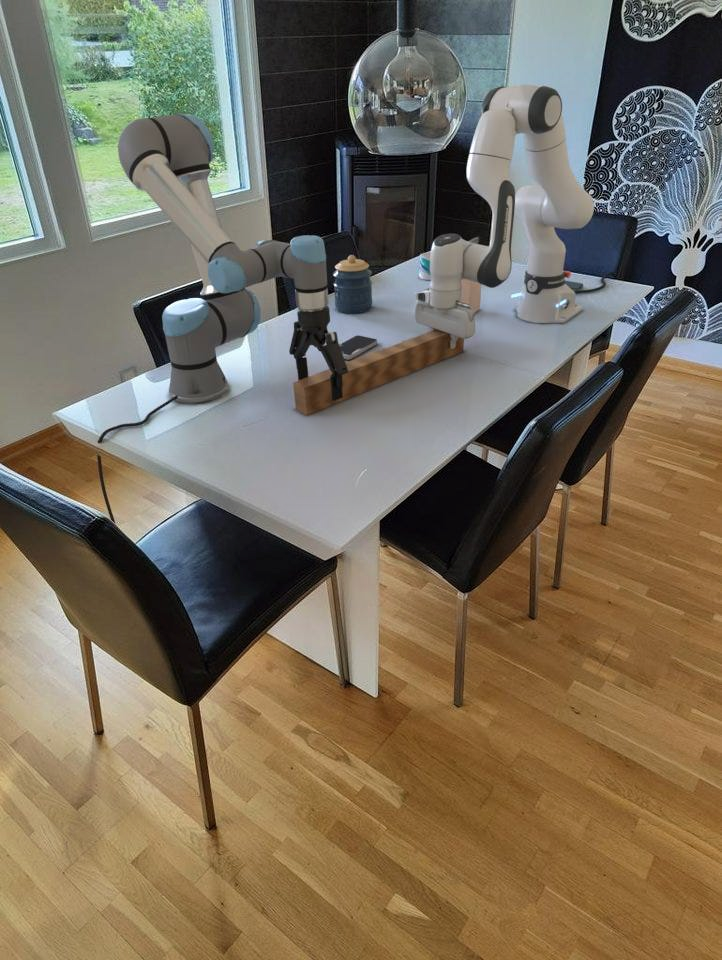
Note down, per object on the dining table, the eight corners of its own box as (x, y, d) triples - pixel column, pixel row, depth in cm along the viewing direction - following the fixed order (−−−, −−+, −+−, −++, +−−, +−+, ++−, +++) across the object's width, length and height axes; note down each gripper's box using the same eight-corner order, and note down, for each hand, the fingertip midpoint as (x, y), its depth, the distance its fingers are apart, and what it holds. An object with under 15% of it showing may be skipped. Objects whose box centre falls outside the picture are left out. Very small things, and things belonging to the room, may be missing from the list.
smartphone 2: (577, 289, 235) (536, 281, 242) (576, 293, 236) (535, 286, 243) (584, 283, 240) (544, 276, 247) (583, 287, 241) (543, 280, 248)
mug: (415, 278, 257) (415, 256, 252) (430, 270, 265) (430, 248, 261) (434, 281, 253) (435, 258, 248) (448, 272, 261) (449, 250, 257)
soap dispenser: (469, 317, 218) (472, 247, 206) (445, 313, 222) (447, 244, 210) (485, 305, 227) (489, 238, 215) (462, 302, 231) (465, 236, 219)
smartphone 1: (378, 339, 201) (349, 356, 191) (378, 343, 202) (349, 360, 191) (357, 335, 205) (327, 351, 195) (357, 339, 206) (328, 355, 195)
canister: (340, 315, 224) (337, 262, 214) (330, 304, 234) (327, 252, 224) (377, 311, 226) (376, 257, 217) (366, 299, 237) (364, 248, 227)
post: (306, 415, 164) (304, 388, 160) (295, 409, 167) (293, 382, 163) (463, 351, 195) (464, 327, 191) (451, 347, 198) (452, 323, 194)
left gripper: (360, 314, 149) (364, 401, 160) (294, 292, 165) (302, 372, 177) (334, 323, 145) (340, 411, 156) (269, 299, 161) (279, 381, 173)
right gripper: (482, 302, 179) (478, 351, 186) (427, 287, 192) (426, 333, 200) (466, 308, 175) (463, 358, 183) (411, 292, 189) (411, 338, 196)
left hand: (320, 390), depth 167 cm, fingers open, 13 cm apart
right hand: (443, 345), depth 191 cm, fingers closed on post, 4 cm apart
